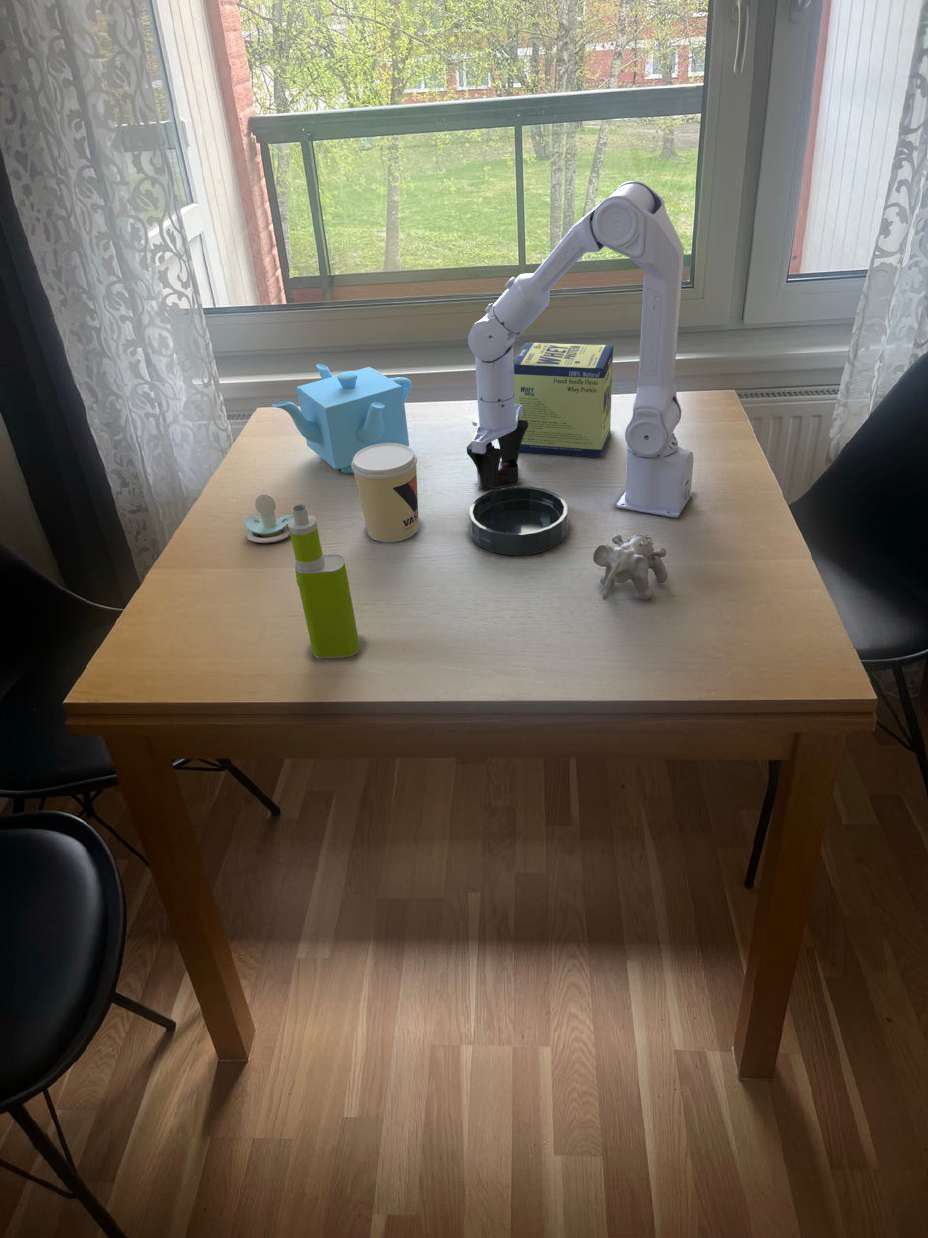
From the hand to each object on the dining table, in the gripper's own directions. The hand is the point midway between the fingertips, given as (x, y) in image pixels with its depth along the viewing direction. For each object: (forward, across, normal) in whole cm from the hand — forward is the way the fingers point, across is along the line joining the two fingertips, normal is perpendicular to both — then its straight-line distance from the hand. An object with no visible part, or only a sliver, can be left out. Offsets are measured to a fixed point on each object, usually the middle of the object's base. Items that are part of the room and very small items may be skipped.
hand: (500, 475), depth 144 cm
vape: (+1, +47, -1) cm, 47 cm away
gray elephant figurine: (+1, +23, +29) cm, 37 cm away
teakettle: (+1, 0, -28) cm, 28 cm away
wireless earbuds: (+1, 0, 0) cm, 1 cm away
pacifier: (+1, +27, -26) cm, 38 cm away
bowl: (+1, +13, +9) cm, 16 cm away
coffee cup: (+1, +19, -9) cm, 21 cm away
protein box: (+1, -17, +4) cm, 18 cm away
